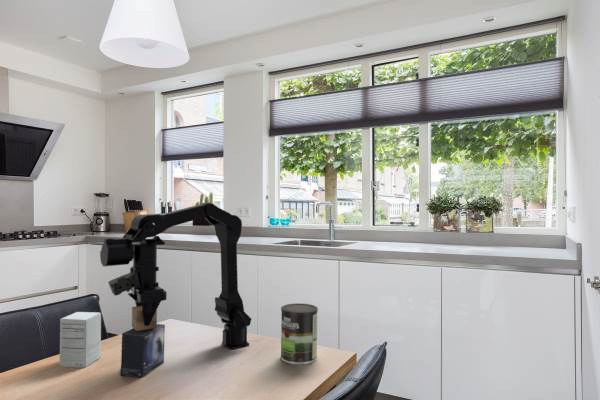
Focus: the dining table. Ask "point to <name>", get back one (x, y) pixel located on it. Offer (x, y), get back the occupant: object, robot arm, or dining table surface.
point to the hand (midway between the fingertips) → (144, 323)
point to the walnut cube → (138, 319)
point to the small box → (142, 351)
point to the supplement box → (80, 339)
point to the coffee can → (299, 334)
